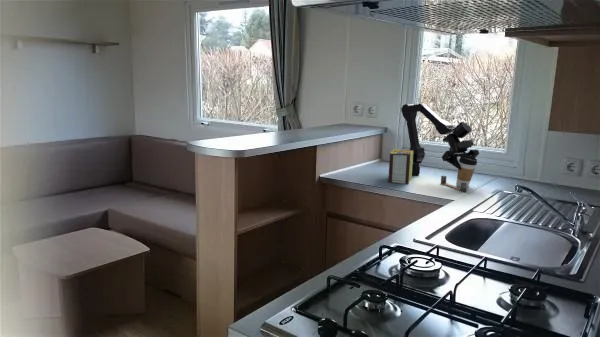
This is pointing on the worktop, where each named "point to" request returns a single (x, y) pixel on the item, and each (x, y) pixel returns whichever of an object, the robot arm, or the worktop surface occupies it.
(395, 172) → the protein box
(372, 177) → the worktop surface
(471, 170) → the coffee cup
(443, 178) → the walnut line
